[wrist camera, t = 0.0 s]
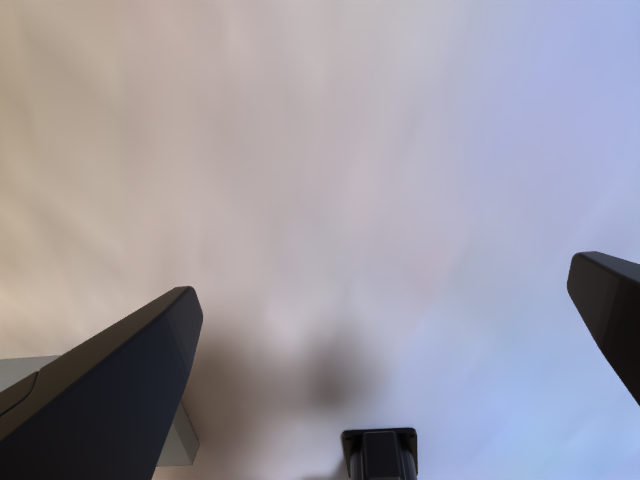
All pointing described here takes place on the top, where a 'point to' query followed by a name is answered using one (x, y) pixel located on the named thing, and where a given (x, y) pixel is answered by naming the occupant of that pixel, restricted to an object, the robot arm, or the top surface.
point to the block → (181, 433)
